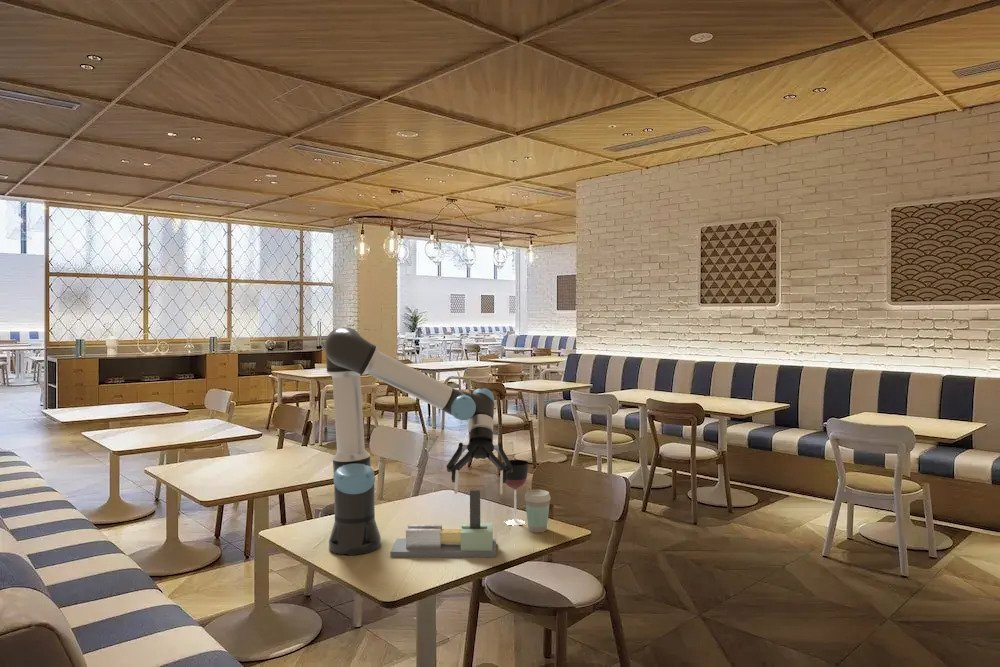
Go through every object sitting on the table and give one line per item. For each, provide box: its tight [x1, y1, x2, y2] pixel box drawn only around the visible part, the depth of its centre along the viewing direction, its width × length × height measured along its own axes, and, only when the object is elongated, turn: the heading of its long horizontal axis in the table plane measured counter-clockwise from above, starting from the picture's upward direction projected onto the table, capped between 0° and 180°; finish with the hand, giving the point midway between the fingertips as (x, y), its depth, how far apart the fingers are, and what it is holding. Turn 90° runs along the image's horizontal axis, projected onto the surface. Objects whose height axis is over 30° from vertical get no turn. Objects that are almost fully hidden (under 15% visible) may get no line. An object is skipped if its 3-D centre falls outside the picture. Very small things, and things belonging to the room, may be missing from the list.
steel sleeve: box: [405, 524, 443, 548], centre depth 195 cm, size 10×5×5 cm, turn 90°
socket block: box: [460, 522, 494, 551], centre depth 195 cm, size 9×9×5 cm
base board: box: [389, 537, 497, 558], centre depth 195 cm, size 30×11×2 cm, turn 90°
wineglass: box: [501, 459, 529, 527], centre depth 220 cm, size 8×9×20 cm
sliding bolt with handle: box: [441, 489, 481, 544], centre depth 195 cm, size 14×3×15 cm, turn 90°
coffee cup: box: [523, 489, 552, 533], centre depth 213 cm, size 9×8×12 cm
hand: (478, 491), depth 199 cm, fingers open, 13 cm apart
